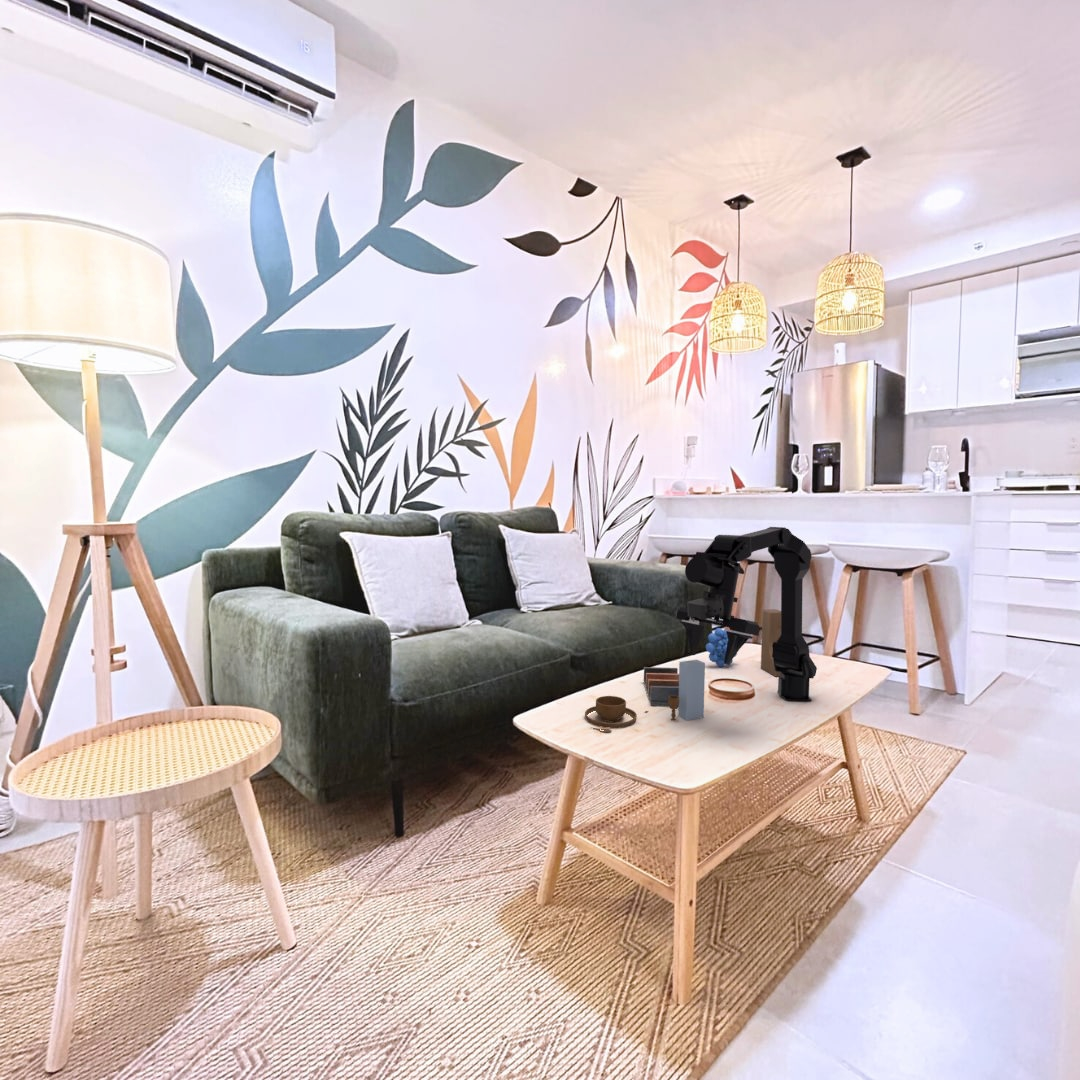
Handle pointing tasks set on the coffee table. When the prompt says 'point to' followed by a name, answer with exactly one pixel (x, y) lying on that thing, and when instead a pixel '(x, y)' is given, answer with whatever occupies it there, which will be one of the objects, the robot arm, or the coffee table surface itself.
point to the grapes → (718, 647)
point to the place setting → (619, 711)
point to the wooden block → (770, 639)
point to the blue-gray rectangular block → (691, 689)
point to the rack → (661, 684)
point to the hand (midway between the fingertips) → (709, 659)
